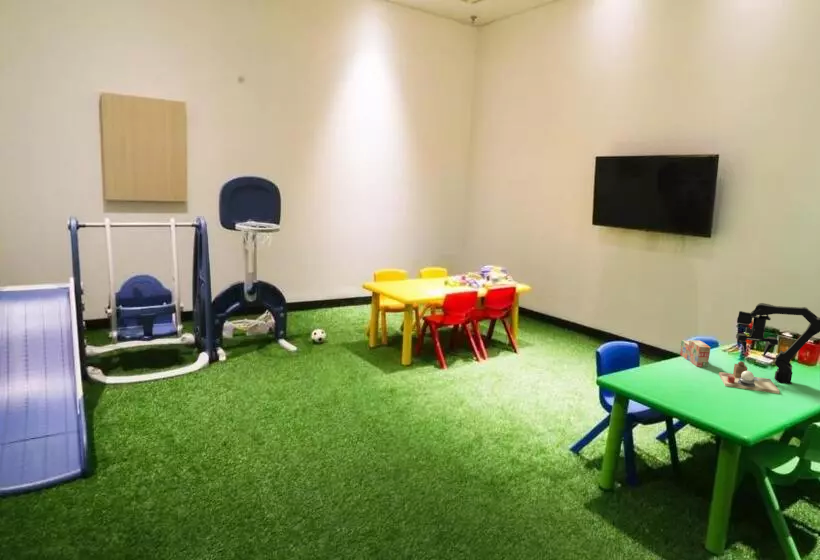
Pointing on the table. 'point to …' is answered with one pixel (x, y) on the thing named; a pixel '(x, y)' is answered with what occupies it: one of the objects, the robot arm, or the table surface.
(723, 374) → the game board
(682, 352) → the stack of blocks
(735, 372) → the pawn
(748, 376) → the dome
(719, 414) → the table surface
